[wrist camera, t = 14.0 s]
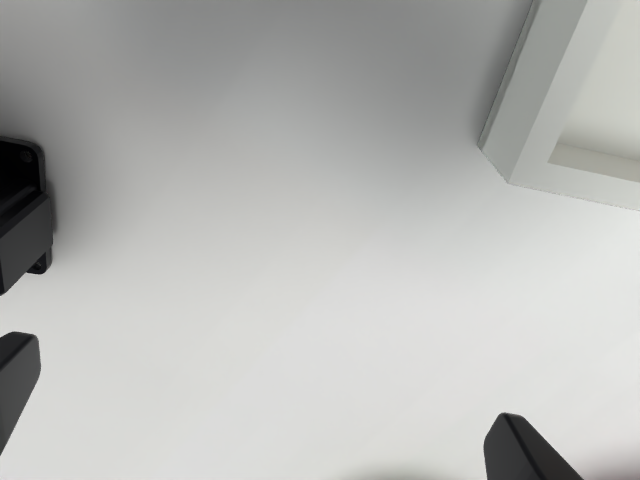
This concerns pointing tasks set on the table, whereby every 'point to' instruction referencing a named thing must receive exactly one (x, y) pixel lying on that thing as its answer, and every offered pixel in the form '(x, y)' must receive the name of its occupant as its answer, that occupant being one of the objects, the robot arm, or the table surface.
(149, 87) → the table surface
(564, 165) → the tray
